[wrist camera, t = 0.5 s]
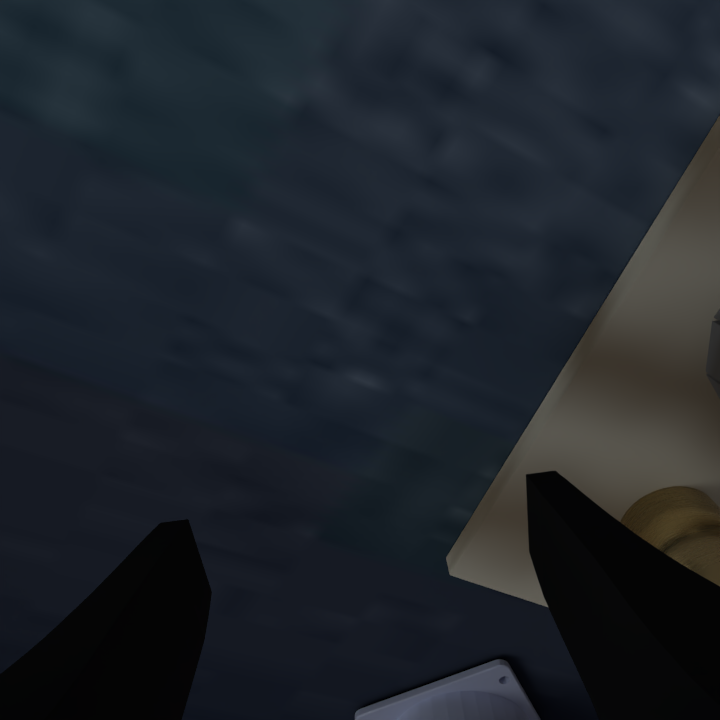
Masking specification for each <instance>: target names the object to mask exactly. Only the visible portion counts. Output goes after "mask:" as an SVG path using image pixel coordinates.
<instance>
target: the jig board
mask: <svg viewBox="0 0 720 720" xmlns="http://www.w3.org/2000/svg"><path fill="white" fill-rule="evenodd" d="M547 471H557V472H558V473H559V474H560V475H562V476H563V477H564V478H565V479H567V480H568V481H569V482H570V483H571V484H573V485H574V486H575V487H576V488H578V489H579V490H580V491H581V492H582V493H584V494H585V495H586V496H587V497H589V498H590V499H591V500H592V501H593V502H595V503H596V504H597V505H598V506H600V507H601V508H602V509H603V510H605V511H606V512H607V513H609V514H610V515H611V516H613V517H614V518H615V519H617V520H618V521H619V522H620V521H621V519H622V517H623V516H624V514H625V513H626V511H627V510H628V509H629V508H630V507H631V506H632V505H633V504H634V503H635V502H636V501H638V500H639V499H640V498H642V497H643V496H645V495H647V494H649V493H651V492H653V491H656V490H659V489H662V488H666V487H673V486H685V487H691V488H695V489H698V490H700V491H702V492H704V493H705V494H707V495H708V496H709V497H710V498H711V499H712V500H713V501H714V502H715V503H716V504H717V505H718V506H719V507H720V116H719V117H718V119H717V121H716V122H715V124H714V125H713V127H712V129H711V130H710V132H709V134H708V135H707V137H706V138H705V140H704V142H703V143H702V145H701V146H700V148H699V150H698V151H697V153H696V155H695V156H694V158H693V159H692V161H691V163H690V164H689V166H688V167H687V169H686V171H685V172H684V174H683V176H682V177H681V179H680V180H679V182H678V184H677V185H676V187H675V189H674V190H673V192H672V193H671V195H670V197H669V198H668V200H667V201H666V203H665V205H664V206H663V208H662V210H661V211H660V213H659V214H658V216H657V218H656V219H655V221H654V222H653V224H652V226H651V227H650V229H649V231H648V232H647V234H646V235H645V237H644V239H643V240H642V242H641V243H640V245H639V247H638V248H637V250H636V252H635V253H634V255H633V256H632V258H631V260H630V261H629V263H628V265H627V266H626V268H625V269H624V271H623V273H622V274H621V276H620V277H619V279H618V281H617V282H616V284H615V286H614V287H613V289H612V290H611V292H610V294H609V295H608V297H607V298H606V300H605V302H604V303H603V305H602V307H601V308H600V310H599V311H598V313H597V315H596V316H595V318H594V319H593V321H592V323H591V324H590V326H589V328H588V329H587V331H586V332H585V334H584V336H583V337H582V339H581V341H580V342H579V344H578V345H577V347H576V349H575V350H574V352H573V353H572V355H571V357H570V358H569V360H568V362H567V363H566V365H565V366H564V368H563V370H562V371H561V373H560V374H559V376H558V378H557V379H556V381H555V383H554V384H553V386H552V387H551V389H550V391H549V392H548V394H547V396H546V397H545V399H544V400H543V402H542V404H541V405H540V407H539V408H538V410H537V412H536V413H535V415H534V417H533V418H532V420H531V421H530V423H529V425H528V426H527V428H526V429H525V431H524V433H523V434H522V436H521V438H520V439H519V441H518V442H517V444H516V446H515V447H514V449H513V450H512V452H511V454H510V455H509V457H508V459H507V460H506V462H505V463H504V465H503V467H502V468H501V470H500V472H499V473H498V475H497V476H496V478H495V480H494V481H493V483H492V484H491V486H490V488H489V489H488V491H487V493H486V494H485V496H484V497H483V499H482V501H481V502H480V504H479V505H478V507H477V509H476V510H475V512H474V514H473V515H472V517H471V518H470V520H469V522H468V523H467V525H466V526H465V528H464V530H463V531H462V533H461V535H460V536H459V538H458V539H457V541H456V543H455V544H454V546H453V548H452V549H451V551H450V552H449V554H448V556H447V557H446V560H447V564H448V569H449V574H450V575H451V576H454V577H457V578H460V579H463V580H466V581H470V582H473V583H476V584H479V585H482V586H485V587H488V588H491V589H494V590H497V591H500V592H503V593H506V594H509V595H512V596H515V597H519V598H522V599H525V600H528V601H531V602H534V603H537V604H540V605H543V606H546V607H548V605H547V603H546V601H545V598H544V596H543V593H542V590H541V587H540V584H539V581H538V578H537V575H536V572H535V569H534V566H533V562H532V559H531V556H530V553H529V538H528V515H527V491H526V474H532V473H540V472H547Z"/></svg>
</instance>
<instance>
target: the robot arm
mask: <svg viewBox="0 0 720 720" xmlns="http://www.w3.org/2000/svg"><path fill="white" fill-rule="evenodd" d="M526 491H527V515H528V538H529V553H530V556H531V559H532V562H533V566H534V569H535V572H536V575H537V578H538V581H539V584H540V587H541V590H542V593H543V596H544V598H545V601H546V603H547V605H548V607H549V610H550V612H551V614H552V616H553V618H554V620H555V623H556V625H557V627H558V629H559V631H560V634H561V636H562V638H563V640H564V642H565V644H566V646H567V649H568V651H569V653H570V655H571V657H572V659H573V662H574V664H575V666H576V668H577V670H578V672H579V674H580V677H581V679H582V681H583V683H584V685H585V687H586V690H587V692H588V694H589V696H590V698H591V701H592V703H593V705H594V708H595V710H596V713H597V715H598V717H599V720H720V586H718V585H717V584H715V583H713V582H711V581H710V580H708V579H706V578H704V577H703V576H701V575H699V574H697V573H696V572H694V571H692V570H690V569H689V568H687V567H685V566H684V565H682V564H680V563H679V562H677V561H675V560H674V559H672V558H671V557H669V556H668V555H666V554H665V553H663V552H662V551H660V550H659V549H657V548H656V547H654V546H653V545H651V544H650V543H648V542H647V541H645V540H644V539H642V538H641V537H639V536H638V535H637V534H635V533H634V532H633V531H631V530H630V529H629V528H627V527H626V526H625V525H623V524H622V523H621V522H619V521H618V520H617V519H615V518H614V517H613V516H611V515H610V514H609V513H607V512H606V511H605V510H603V509H602V508H601V507H600V506H598V505H597V504H596V503H595V502H593V501H592V500H591V499H590V498H589V497H587V496H586V495H585V494H584V493H582V492H581V491H580V490H579V489H578V488H576V487H575V486H574V485H573V484H571V483H570V482H569V481H568V480H567V479H565V478H564V477H563V476H562V475H560V474H559V473H558V472H557V471H547V472H540V473H532V474H526ZM211 594H212V591H211V588H210V585H209V582H208V579H207V576H206V573H205V570H204V567H203V564H202V560H201V557H200V554H199V551H198V548H197V545H196V542H195V539H194V536H193V533H192V529H191V526H190V523H189V520H188V519H187V520H179V521H172V522H164V523H160V524H159V525H158V526H157V527H156V528H155V529H154V530H153V531H152V532H151V533H150V534H149V535H148V536H147V537H146V538H145V539H144V540H143V541H142V542H141V543H140V544H139V545H138V546H137V547H136V548H135V549H134V550H133V551H132V552H131V553H130V554H129V555H128V556H127V557H126V559H125V560H124V561H123V562H122V563H121V564H120V565H119V566H118V567H117V568H116V569H115V570H114V571H113V572H112V573H111V574H110V575H109V576H108V577H107V578H106V579H105V580H104V581H103V582H102V583H101V584H100V585H99V586H98V587H97V588H96V589H95V590H94V591H93V592H92V593H91V594H90V595H89V596H88V597H87V598H86V599H85V600H84V601H83V602H82V603H81V604H80V605H79V606H78V607H77V608H76V609H75V610H74V611H72V612H71V613H70V614H69V615H68V616H67V617H66V618H65V619H64V620H63V621H62V622H61V623H60V624H59V625H58V626H57V627H56V628H55V629H53V630H52V631H51V632H50V633H49V634H48V635H47V636H46V637H45V638H43V639H42V640H41V641H40V642H39V643H38V644H37V645H35V646H34V647H33V648H32V649H31V650H30V651H28V652H27V653H26V654H25V655H24V656H22V657H21V658H20V659H19V660H17V661H16V662H15V663H14V664H12V665H11V666H10V667H9V668H8V669H6V670H5V671H4V672H3V673H1V674H0V720H181V719H182V716H183V713H184V709H185V706H186V702H187V699H188V695H189V692H190V689H191V685H192V682H193V678H194V675H195V671H196V668H197V664H198V661H199V657H200V654H201V650H202V646H203V643H204V639H205V633H206V627H207V621H208V615H209V608H210V601H211ZM355 720H541V719H540V717H539V716H538V714H537V712H536V710H535V709H534V707H533V705H532V703H531V702H530V700H529V698H528V696H527V695H526V693H525V691H524V689H523V688H522V686H521V684H520V682H519V681H518V679H517V677H516V675H515V673H514V672H513V670H512V668H511V666H510V665H509V663H508V662H507V661H505V660H503V659H497V660H494V661H491V662H488V663H485V664H483V665H480V666H477V667H474V668H471V669H469V670H466V671H463V672H460V673H458V674H455V675H452V676H449V677H447V678H444V679H441V680H438V681H436V682H433V683H430V684H427V685H425V686H422V687H419V688H416V689H413V690H411V691H408V692H405V693H402V694H400V695H397V696H394V697H391V698H389V699H386V700H383V701H380V702H378V703H375V704H372V705H369V706H367V707H364V708H361V709H359V710H357V712H356V713H355Z"/></svg>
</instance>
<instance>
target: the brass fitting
mask: <svg viewBox="0 0 720 720" xmlns="http://www.w3.org/2000/svg"><path fill="white" fill-rule="evenodd" d="M620 522H621V523H622V524H623V525H625V526H626V527H627V528H629V529H630V530H631V531H633V532H634V533H635V534H637V535H638V536H639V537H641V538H642V539H644V540H645V541H647V542H648V543H650V544H651V545H653V546H654V547H656V548H657V549H659V550H660V551H662V552H663V553H665V554H666V555H668V556H669V557H671V558H672V559H674V560H675V561H677V562H679V563H680V564H682V565H684V566H685V567H687V568H689V569H690V570H692V571H694V572H696V573H697V574H699V575H701V576H703V577H704V578H706V579H708V580H710V581H711V582H713V583H715V584H717V585H718V586H720V507H719V506H718V505H717V504H716V503H715V502H714V501H713V500H712V499H711V498H710V497H709V496H708V495H707V494H705V493H704V492H702V491H700V490H698V489H695V488H691V487H685V486H673V487H666V488H662V489H659V490H656V491H653V492H651V493H649V494H647V495H645V496H643V497H642V498H640V499H639V500H638V501H636V502H635V503H634V504H633V505H632V506H631V507H630V508H629V509H628V510H627V511H626V513H625V514H624V516H623V517H622V519H621V521H620Z"/></svg>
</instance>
